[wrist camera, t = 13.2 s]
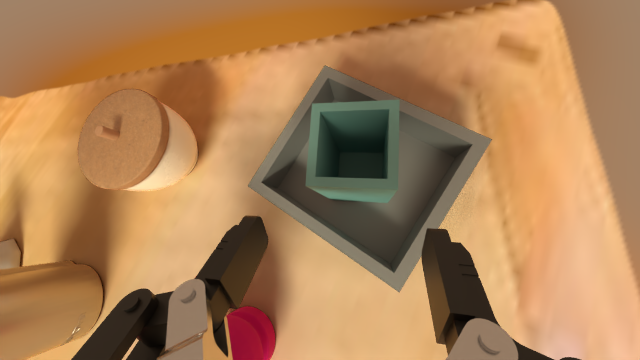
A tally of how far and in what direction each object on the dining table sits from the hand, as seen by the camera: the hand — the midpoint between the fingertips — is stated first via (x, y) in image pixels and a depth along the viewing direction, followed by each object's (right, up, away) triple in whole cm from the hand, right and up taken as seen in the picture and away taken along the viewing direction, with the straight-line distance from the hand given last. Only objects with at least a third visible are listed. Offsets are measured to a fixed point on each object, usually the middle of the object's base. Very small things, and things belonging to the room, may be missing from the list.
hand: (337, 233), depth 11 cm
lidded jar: (-20, +6, +20) cm, 28 cm away
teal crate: (+3, +3, +13) cm, 14 cm away
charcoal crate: (+4, +3, +14) cm, 14 cm away
